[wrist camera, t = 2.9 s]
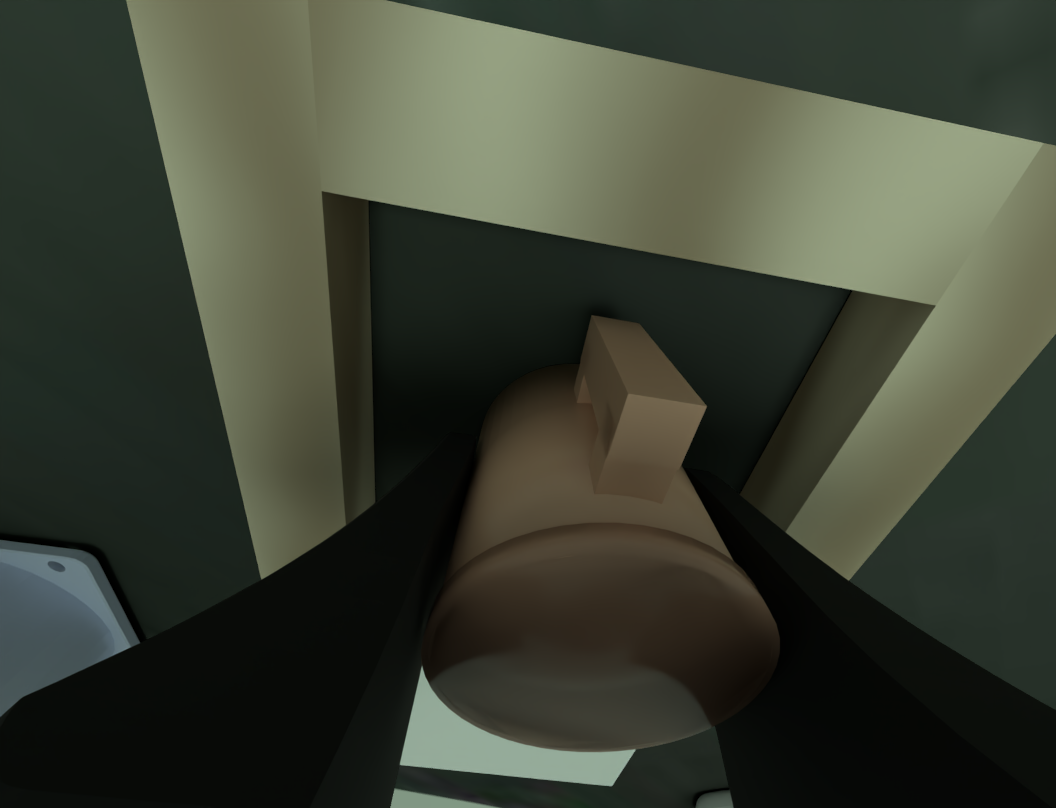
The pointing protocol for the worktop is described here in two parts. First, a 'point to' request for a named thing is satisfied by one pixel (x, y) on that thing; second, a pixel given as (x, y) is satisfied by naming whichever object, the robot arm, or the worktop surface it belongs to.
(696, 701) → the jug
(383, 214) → the worktop surface
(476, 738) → the mat
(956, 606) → the worktop surface
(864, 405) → the holder
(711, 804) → the eye dropper bottle
